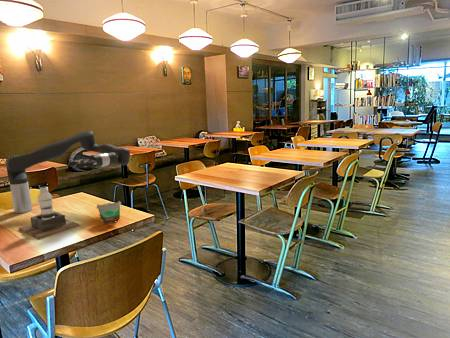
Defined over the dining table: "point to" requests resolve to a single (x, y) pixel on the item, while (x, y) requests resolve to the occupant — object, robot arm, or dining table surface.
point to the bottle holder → (48, 226)
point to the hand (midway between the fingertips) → (72, 165)
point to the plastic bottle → (45, 204)
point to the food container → (109, 212)
